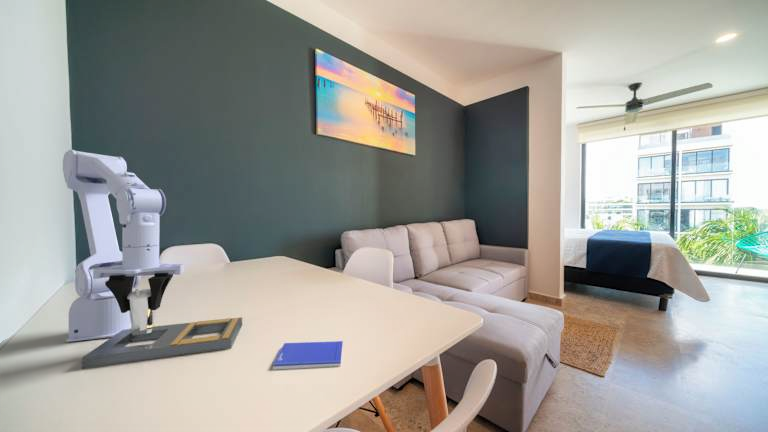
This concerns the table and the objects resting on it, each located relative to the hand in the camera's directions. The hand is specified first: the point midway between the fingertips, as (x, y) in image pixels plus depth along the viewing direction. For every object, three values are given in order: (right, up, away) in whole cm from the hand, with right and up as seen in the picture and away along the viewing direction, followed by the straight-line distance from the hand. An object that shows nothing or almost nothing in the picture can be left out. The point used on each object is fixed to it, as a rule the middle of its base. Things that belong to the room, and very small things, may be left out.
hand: (141, 309), depth 55 cm
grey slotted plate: (+6, -8, +2) cm, 10 cm away
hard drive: (+36, -9, -2) cm, 38 cm away
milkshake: (0, -5, 0) cm, 5 cm away
